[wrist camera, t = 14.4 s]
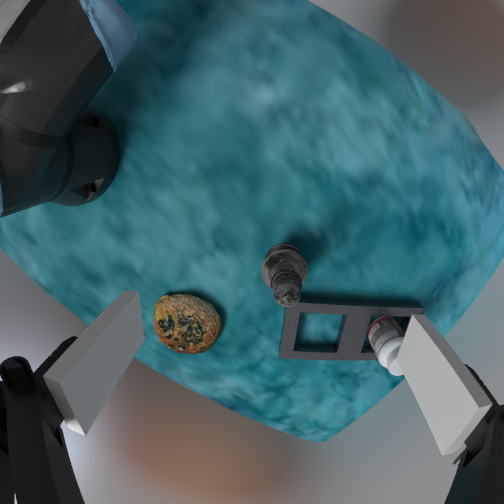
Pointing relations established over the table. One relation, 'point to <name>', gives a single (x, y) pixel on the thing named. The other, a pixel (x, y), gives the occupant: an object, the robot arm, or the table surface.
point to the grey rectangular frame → (341, 327)
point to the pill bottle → (386, 342)
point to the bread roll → (186, 323)
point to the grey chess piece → (285, 273)
